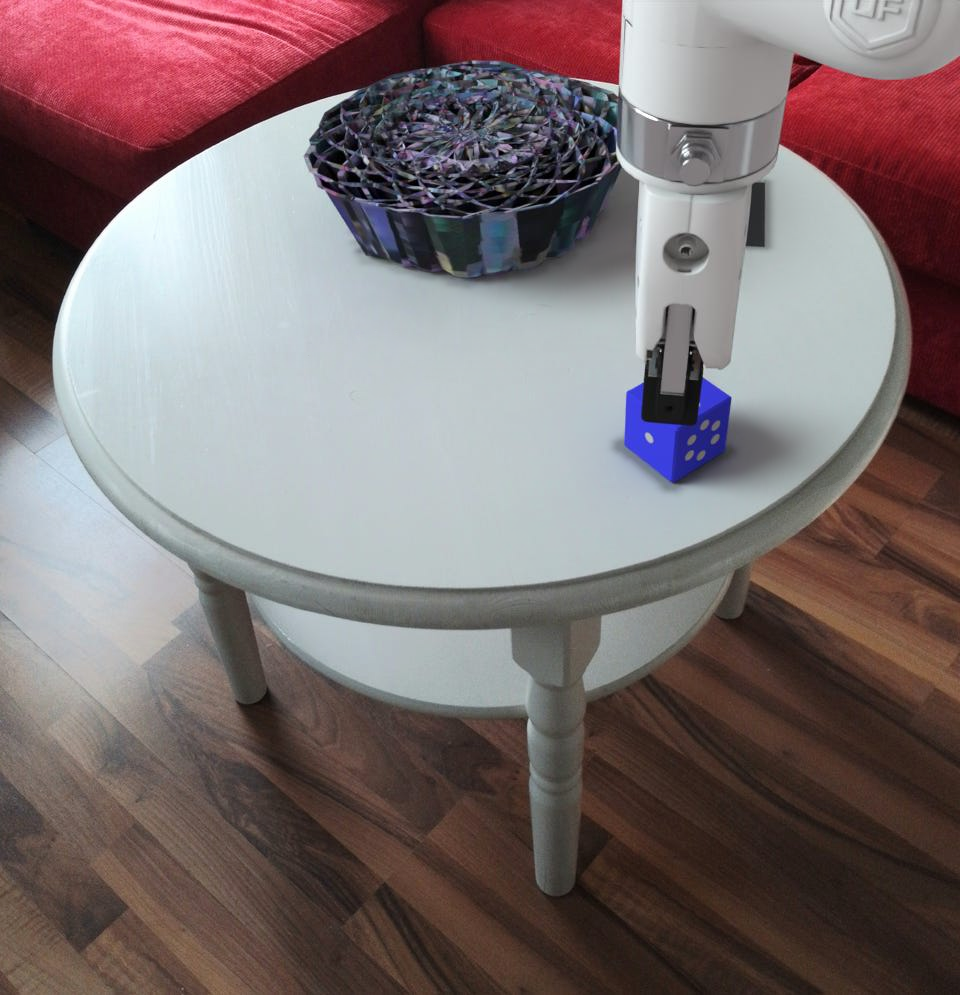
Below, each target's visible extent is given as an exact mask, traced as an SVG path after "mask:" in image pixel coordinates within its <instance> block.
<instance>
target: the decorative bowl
mask: <svg viewBox="0 0 960 995" xmlns="http://www.w3.org/2000/svg"><path fill="white" fill-rule="evenodd" d="M617 115H618V94H615V92H613V91H612V90H609V89H605V88H602V87H599V86H596V85H593V84H591V83H590V82H587V81H583V80H579V79H575V78H570V77H568V76H565V75H562V74H557V73H554V72H550V71H546V70H541V69H525V68H524V67H522V66H520V65H517V64H512V63H509V62H506V61H503V60H467V61H466V60H465V61H462V62H461V61H460V62H455V63H449V64H444V65H440V66H435V67H434V66H433V67H428V68H419V69H415V70H414V69H413V70H409V71H404V72H399V73H394V74H391V75H389V76H388V75H387V76H386V77H385V78H382V79H380V80H378V81H376V82H374V83H372V84H371V85H369V86H366V87H362V88H359V89H358V90H357V91H355V92H354V93H353V94H351V95H350V96H349V97H348V98H345V99H343V100H342V101H340V102H339V103H337V104H336V105H334V106H333V107H331V108H329V109H327V111H324V112H323V115H322V116H321V119H320V121H319V123H318V127H317V129H316V130H315V131H314V133H313V134H312V135H311V136H310V137H309V139H308V141H309V146H308V148H307V149H306V151H305V153H304V154H303V160H304V162H305V164H306V167H307V169H308V172H309V173H310V174H312V175H313V177H314V180H315V183H316V186H317V188H319V189H321V190H322V191H324V192H325V193H326V195H327V196H328V198H329V200H330V201H331V203H332V204H333V206H334V208H335V209H336V211H337V212H338V214H339V215H340V217H341V218H342V221H343V222H344V223H345V225H346V226H347V228H348V229H349V231H350V233H351V234H352V236H353V238H354V239H355V241H356V242H357V244H358V245H359V247H360V248H361V250H362V251H363V254H364V255H365V256H366V257H372V258H376V259H382V260H387V261H390V262H392V263H393V264H395V265H398V266H401V267H403V268H404V267H405V268H406V267H415V268H417V269H418V270H419V271H424V272H430V273H433V272H438V271H442V270H444V271H446V272H447V273H449V274H450V275H452V276H453V277H457V278H458V277H459V278H475V277H480V276H482V275H483V274H484V275H485V276H491V275H492V276H493V275H500V274H501V275H503V274H506V273H509V272H511V271H512V270H517V271H518V270H520V271H522V270H529V269H534V268H536V267H538V266H539V265H540V264H542V263H544V261H545V260H546V259H553V258H555V259H556V258H561V257H562V256H564V255H565V254H567V252H569V251H570V250H571V249H573V247H574V244H575V243H576V242H578V241H582V240H584V239H585V238H586V237H587V236H588V235H590V233H591V232H592V230H593V228H594V226H595V222H596V220H597V218H598V215H599V214H600V213H601V212H602V211H603V210H604V209H605V208H606V207H607V204H608V201H609V199H610V197H611V194H612V191H613V190H614V186H615V184H616V182H617V180H618V177H619V174H620V172H621V170H622V168H623V167H622V166H621V164H620V162H619V161H618V159H617V155H616V142H617Z"/></svg>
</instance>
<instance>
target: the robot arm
mask: <svg viewBox="0 0 960 995" xmlns="http://www.w3.org/2000/svg"><path fill="white" fill-rule="evenodd" d="M621 6H622V7H621V28H620V49H619V50H620V51H619V69H618V70H619V72H618V73H619V74H618V94H617V96H618V115H617V142H616V155H617V159H618V161H619V162H620V164H621V166H622V167H621V168H622V169H623V170H624V171H625V172H626V173H627V174H628V175H630V176H632V177H633V178H634V179H636V180H638V181H639V186H638V200H637V219H636V220H637V221H636V223H637V224H636V242H635V243H636V245H635V278H634V279H635V282H634V283H635V284H634V285H635V289H634V290H635V292H634V293H635V297H634V298H635V299H634V302H635V305H634V306H635V307H634V308H635V309H634V313H635V318H634V319H635V355H636V357H637V358H638V359H639V360H640V361H641V362H642V363H643V364H644V374H643V382H644V385H643V398H642V411H641V419H642V420H643V421H645V422H650V423H662V424H674V425H686V426H692V425H695V424H696V423H697V418H698V410H699V403H700V395H701V387H702V379H703V378H704V370H705V369H704V367H705V368H706V369H714V370H715V369H716V370H718V371H722V370H724V369H726V368H727V367H728V366H729V365H730V363H731V362H732V353H733V345H734V336H735V330H736V328H735V327H736V320H737V313H738V305H739V298H740V290H741V285H742V284H741V283H742V276H743V268H744V260H745V254H746V247H747V246H746V240H747V232H748V223H749V214H750V204H751V190H752V184H754V183H755V182H760V181H761V180H763V179H764V178H765V177H766V176H767V175H769V174H770V173H771V171H772V170H773V169H774V168H775V166H776V163H777V161H778V157H779V150H780V144H781V138H782V132H783V125H784V119H785V112H786V107H787V102H788V94H789V88H790V82H791V81H790V80H791V75H792V69H793V62H794V57H795V54H796V55H798V56H801V57H802V58H806V59H807V60H810V61H814V62H816V63H818V64H820V65H824V66H826V67H828V68H832V69H834V70H837V71H840V72H843V73H847V74H850V75H854V76H857V77H862V78H867V79H872V80H882V81H896V80H897V81H898V80H899V81H900V80H909V79H913V78H917V77H921V76H926V75H928V74H932V73H933V72H935V71H938V70H940V69H942V68H943V67H945V66H946V65H948V64H950V63H952V62H953V61H955V60H956V59H957V58H959V57H960V0H622V2H621Z"/></svg>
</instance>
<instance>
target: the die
mask: <svg viewBox="0 0 960 995" xmlns="http://www.w3.org/2000/svg"><path fill="white" fill-rule="evenodd" d="M643 385H644V381H643V382H641V383H640V384H638V385H636V386H634V387H633V388H631V389H629V390H627V391H626V393H625V415H624V416H625V418H624V444H623V445H624V446H625V447H626V448H627V449H628V450H630V451H631V452H632V453H634V454H635V455H636V456H637V457H638V458H640V459H641V460H642V461H643V462H645V463H646V464H647V465H648V466H650V467H652V469H654V470H655V471H656V472H657V473H658V474H660V475H661V476H663V477H664V478H665V479H666V480H668V481H669V482H670V483H676V482H678V481H679V480H680V479H682V478H684V477H685V476H687V475H689V474H690V473H692V472H693V471H695V470H696V469H698V468H699V467H701V466H703V465H705V464H706V463H707V462H709V461H711V460H713V459H714V458H715V457H717V456H719V455H720V454H723V453H724V452H725V451H726V446H727V436H728V429H729V421H730V414H731V406H732V396H731V395H730V394H728V393H726V392H725V391H723V390H722V389H721V388H720V387H718V386H717V385H715V384H713V383H712V382H711V381H709V380H708V379H706V378H705V377H703V379H702V387H701V395H700V403H699V410H698V418H697V423H696V424H695V425H692V426H686V425H674V424H662V423H650V422H645V421H643V420H642V419H641V411H642V398H643Z"/></svg>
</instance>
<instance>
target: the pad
mask: <svg viewBox="0 0 960 995" xmlns="http://www.w3.org/2000/svg"><path fill="white" fill-rule="evenodd" d="M765 184H766V183H765V182H764V181H763V182H760V181H757V182H755V183H754V184H752V190H751V204H750V214H749V223H748V232H747V240H746V247H758V248H765V203H766V202H765V200H766V198H765V196H766V195H765V194H766V193H765V192H766V191H765V190H766V189H765V188H766V186H765Z"/></svg>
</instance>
